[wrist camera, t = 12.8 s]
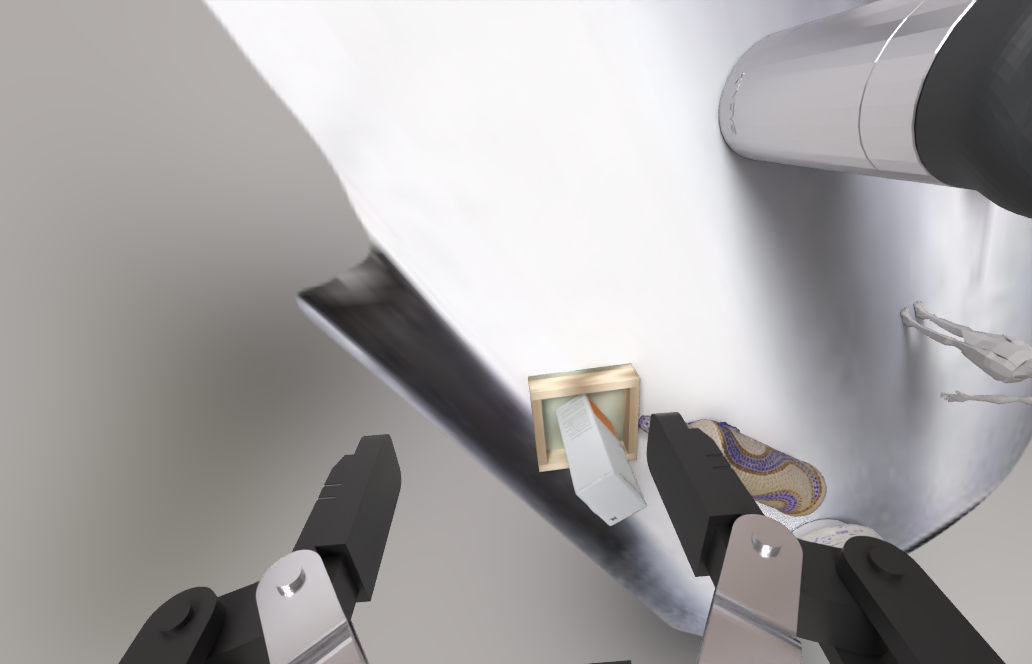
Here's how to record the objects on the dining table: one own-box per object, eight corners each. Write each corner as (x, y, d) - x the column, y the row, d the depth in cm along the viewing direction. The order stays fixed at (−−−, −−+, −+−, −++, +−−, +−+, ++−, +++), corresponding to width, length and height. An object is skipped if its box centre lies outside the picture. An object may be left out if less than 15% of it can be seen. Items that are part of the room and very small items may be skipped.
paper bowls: (751, 531, 60) (786, 586, 53) (854, 490, 57) (906, 542, 50) (775, 580, 66) (809, 634, 59) (869, 545, 63) (916, 597, 56)
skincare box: (612, 420, 47) (649, 507, 36) (582, 439, 48) (609, 528, 37) (584, 388, 44) (614, 471, 34) (553, 408, 45) (573, 495, 35)
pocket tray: (630, 363, 44) (640, 378, 42) (628, 441, 50) (636, 459, 47) (527, 376, 44) (530, 392, 41) (536, 453, 50) (539, 471, 47)
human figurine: (969, 273, 42) (1266, 366, 26) (972, 300, 43) (1254, 403, 27) (854, 334, 44) (1059, 452, 28) (861, 357, 46) (1059, 481, 30)
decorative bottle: (804, 450, 53) (844, 492, 47) (762, 487, 56) (795, 530, 50) (653, 377, 45) (678, 415, 40) (614, 423, 48) (632, 465, 42)
